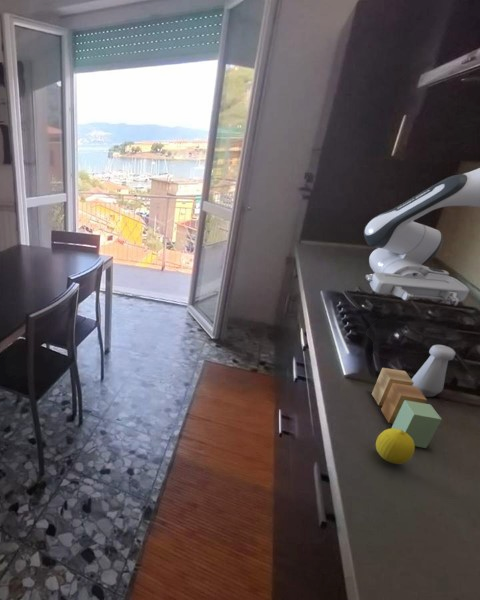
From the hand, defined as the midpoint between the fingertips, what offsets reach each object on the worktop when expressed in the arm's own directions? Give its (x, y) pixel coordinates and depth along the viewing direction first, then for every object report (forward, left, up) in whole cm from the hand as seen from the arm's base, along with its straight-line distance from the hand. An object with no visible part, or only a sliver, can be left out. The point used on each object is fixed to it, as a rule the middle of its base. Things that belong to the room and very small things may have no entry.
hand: (431, 300), depth 90 cm
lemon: (+23, +35, -21) cm, 46 cm away
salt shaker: (+2, +11, -21) cm, 23 cm away
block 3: (+15, +28, -20) cm, 38 cm away
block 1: (+13, +16, -20) cm, 29 cm away
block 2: (+14, +22, -20) cm, 33 cm away
